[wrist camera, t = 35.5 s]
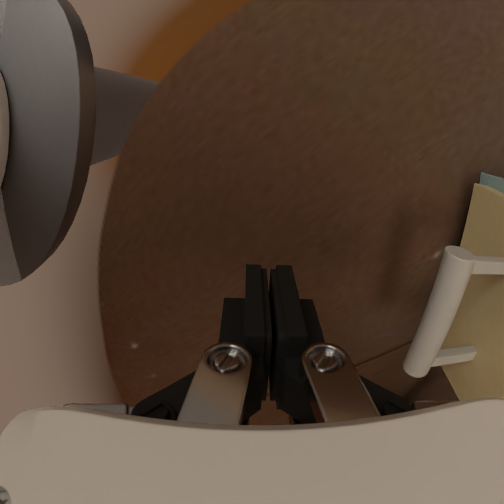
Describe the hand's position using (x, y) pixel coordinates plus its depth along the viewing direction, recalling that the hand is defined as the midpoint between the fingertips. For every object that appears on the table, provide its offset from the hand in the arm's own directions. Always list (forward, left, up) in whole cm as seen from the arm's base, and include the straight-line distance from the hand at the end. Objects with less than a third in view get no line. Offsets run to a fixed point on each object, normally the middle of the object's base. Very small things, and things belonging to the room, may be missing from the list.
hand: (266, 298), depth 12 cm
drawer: (+14, 0, -3) cm, 15 cm away
